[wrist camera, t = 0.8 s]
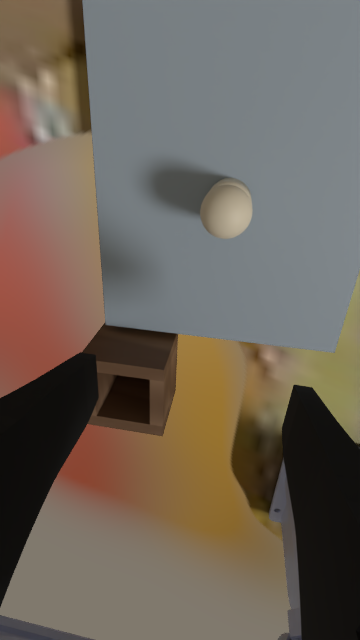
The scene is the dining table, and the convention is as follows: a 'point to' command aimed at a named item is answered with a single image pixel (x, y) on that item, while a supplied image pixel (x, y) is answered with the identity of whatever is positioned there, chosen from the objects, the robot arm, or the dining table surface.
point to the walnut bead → (134, 378)
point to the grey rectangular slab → (227, 165)
